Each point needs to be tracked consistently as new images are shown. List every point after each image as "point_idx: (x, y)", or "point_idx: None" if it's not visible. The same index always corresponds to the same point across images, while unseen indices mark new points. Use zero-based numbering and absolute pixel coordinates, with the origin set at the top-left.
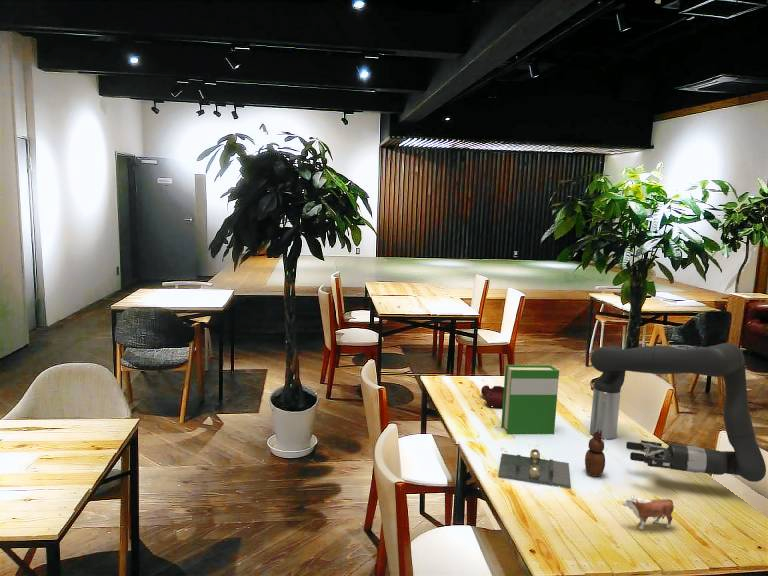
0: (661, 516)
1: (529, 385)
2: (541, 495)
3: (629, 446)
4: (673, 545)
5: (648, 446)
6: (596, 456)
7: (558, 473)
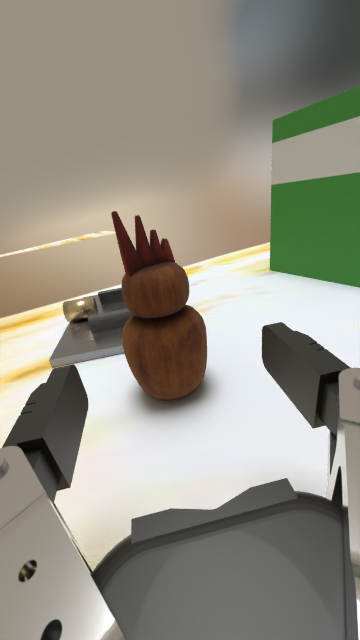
0: None
1: (310, 152)
2: (16, 344)
3: (271, 357)
4: None
5: (342, 457)
6: (125, 325)
7: (112, 334)
